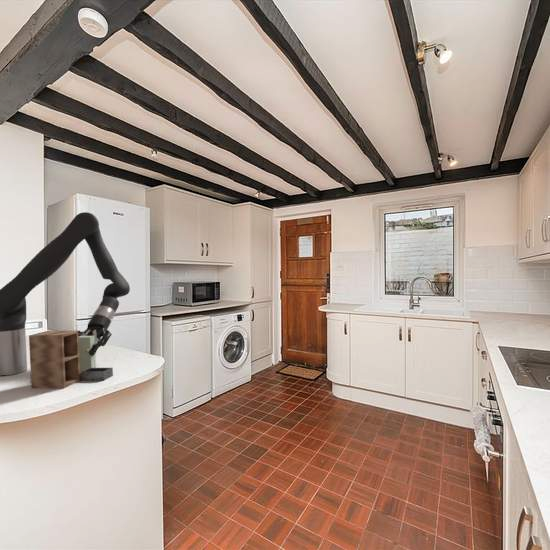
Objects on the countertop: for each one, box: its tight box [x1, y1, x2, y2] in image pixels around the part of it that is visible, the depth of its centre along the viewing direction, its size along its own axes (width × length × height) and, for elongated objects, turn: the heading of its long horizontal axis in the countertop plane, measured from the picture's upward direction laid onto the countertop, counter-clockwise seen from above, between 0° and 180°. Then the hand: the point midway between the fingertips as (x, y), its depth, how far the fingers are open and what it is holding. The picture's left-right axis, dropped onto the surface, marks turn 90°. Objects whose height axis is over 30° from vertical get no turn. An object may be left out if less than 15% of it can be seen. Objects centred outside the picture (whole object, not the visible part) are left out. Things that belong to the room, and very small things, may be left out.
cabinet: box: [28, 330, 80, 389], centre depth 107 cm, size 12×8×18 cm, turn 84°
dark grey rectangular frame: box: [79, 367, 114, 381], centre depth 112 cm, size 9×5×3 cm, turn 84°
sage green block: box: [79, 336, 97, 373], centre depth 119 cm, size 6×4×14 cm, turn 84°
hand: (82, 354), depth 118 cm, fingers closed on sage green block, 6 cm apart
